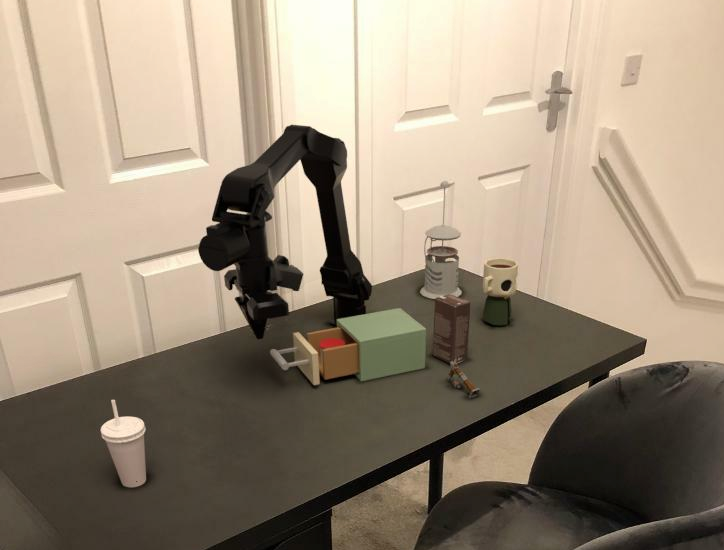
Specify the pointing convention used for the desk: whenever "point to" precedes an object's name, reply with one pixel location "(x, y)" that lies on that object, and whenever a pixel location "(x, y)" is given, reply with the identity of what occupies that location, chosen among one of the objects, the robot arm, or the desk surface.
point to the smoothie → (126, 447)
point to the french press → (441, 261)
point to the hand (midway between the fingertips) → (259, 338)
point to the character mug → (499, 289)
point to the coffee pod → (330, 344)
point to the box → (451, 328)
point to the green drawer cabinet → (386, 343)
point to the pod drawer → (334, 359)
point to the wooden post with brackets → (462, 378)
